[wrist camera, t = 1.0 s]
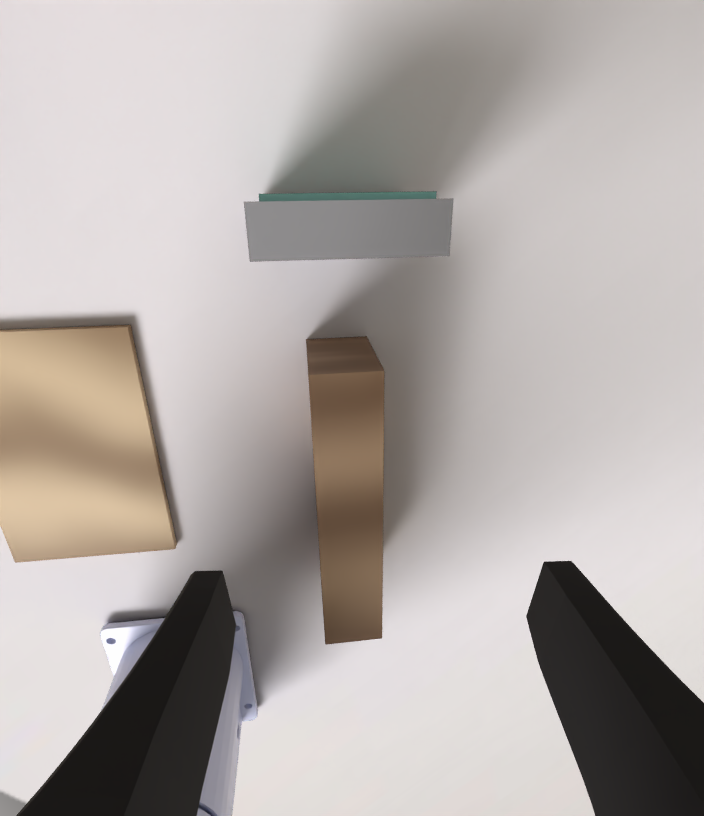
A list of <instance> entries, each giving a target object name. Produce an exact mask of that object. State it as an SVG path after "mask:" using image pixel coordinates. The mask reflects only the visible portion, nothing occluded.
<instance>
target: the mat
mask: <svg viewBox="0 0 704 816" xmlns="http://www.w3.org/2000/svg"><path fill="white" fill-rule="evenodd" d="M0 526H1V528H2V531H3V533H4V536H5V538H6V541H7V543H8V546H9V548H10V551H11V553H12V556H13V558H14V561H15V563H16V562H28V561H40V560H51V559H63V558H75V557H87V556H99V555H111V554H122V553H134V552H146V551H158V550H170V549H175V548H176V545H177V542H176V538H175V533H174V528H173V524H172V519H171V514H170V509H169V505H168V500H167V495H166V490H165V486H164V481H163V476H162V472H161V467H160V462H159V457H158V453H157V448H156V443H155V438H154V434H153V429H152V424H151V420H150V415H149V410H148V405H147V401H146V396H145V391H144V387H143V382H142V377H141V372H140V368H139V363H138V358H137V353H136V349H135V344H134V339H133V335H132V330H131V325H113V326H88V327H62V328H37V329H12V330H0Z"/></svg>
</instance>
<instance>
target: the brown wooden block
mask: <svg viewBox="0 0 704 816" xmlns="http://www.w3.org/2000/svg"><path fill="white" fill-rule="evenodd" d="M306 345H307V361H308V377H309V393H310V409H311V425H312V441H313V457H314V474H315V490H316V506H317V522H318V538H319V554H320V570H321V585H322V600H323V615H324V630H325V644H334V643H343V642H352V641H361V640H370V639H380V638H382V583H383V469H384V369H383V367H382V365H381V363H380V361H379V359H378V358H377V356H376V354H375V352H374V350H373V348H372V346H371V344H370V342H369V340H368V338H367V336H364V337H344V338H324V339H306Z"/></svg>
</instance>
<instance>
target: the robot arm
mask: <svg viewBox="0 0 704 816" xmlns="http://www.w3.org/2000/svg"><path fill="white" fill-rule="evenodd" d="M526 617H527V621H528V625H529V629H530V633H531V637H532V640H533V644H534V648H535V651H536V655H537V659H538V662H539V665H540V668H541V671H542V673H543V676H544V679H545V681H546V684H547V687H548V689H549V692H550V695H551V697H552V700H553V702H554V705H555V708H556V710H557V713H558V715H559V718H560V720H561V723H562V726H563V728H564V731H565V733H566V736H567V739H568V741H569V744H570V746H571V749H572V751H573V754H574V757H575V759H576V762H577V764H578V767H579V770H580V772H581V775H582V777H583V780H584V783H585V786H586V789H587V792H588V794H589V797H590V800H591V803H592V806H593V809H594V813H595V816H704V703H703V702H702V701H701V700H700V699H699V698H698V697H697V696H696V695H695V694H694V693H693V692H692V691H691V690H690V689H689V688H688V687H687V686H686V685H685V684H684V683H683V682H682V681H681V680H680V679H679V678H678V677H677V676H676V675H675V674H674V673H673V672H672V671H671V670H670V669H669V668H668V667H667V666H666V665H665V664H664V662H663V661H662V660H661V659H660V658H659V657H658V656H657V655H656V654H655V653H654V652H653V651H652V650H651V649H650V648H649V647H648V646H647V645H646V643H645V642H644V641H643V640H642V639H641V638H640V637H639V636H638V635H637V634H636V633H635V632H634V631H633V630H632V628H631V627H630V626H629V625H628V624H627V623H626V622H625V621H624V620H623V619H622V617H621V616H620V615H619V614H618V613H617V612H616V611H615V610H614V609H613V607H612V606H611V605H610V604H609V603H608V602H607V601H606V600H605V598H604V597H603V596H602V595H601V594H600V593H599V592H598V591H597V589H596V588H595V587H594V586H593V585H592V584H591V583H590V581H589V580H588V579H587V578H586V577H585V576H584V575H583V573H582V572H581V571H580V570H579V569H578V568H577V567H576V566H575V564H574V563H573V562H571V561H555V562H544V563H543V567H542V570H541V573H540V576H539V579H538V582H537V585H536V588H535V591H534V594H533V597H532V600H531V603H530V606H529V610H528V613H527V616H526ZM236 625H238V626H236ZM100 636H101V639H102V642H103V645H104V648H105V651H106V655H107V658H108V661H109V664H110V667H111V670H112V673H113V676H114V678H113V681H112V683H111V686H110V689H109V691H108V694H107V697H106V699H105V702H104V704H103V707H102V710H101V712H100V714H99V715H98V716H97V718H96V719H95V720H94V722H93V723H92V724H91V726H90V727H89V728H88V730H87V731H86V732H85V733H84V735H83V736H82V737H81V739H80V740H79V741H78V742H77V744H76V745H75V746H74V747H73V749H72V750H71V751H70V752H69V754H68V755H67V756H66V758H65V759H64V760H63V761H62V762H61V764H60V765H59V766H58V767H57V768H56V770H55V771H54V772H53V773H52V775H51V776H50V777H49V778H48V779H47V781H46V782H45V783H44V784H43V785H42V787H41V788H40V789H39V790H38V791H37V792H36V794H35V795H34V796H33V797H32V798H31V799H30V801H29V802H28V803H27V804H26V805H25V806H24V808H23V809H22V810H21V811H20V812H19V813H18V814H17V816H232V813H233V803H234V793H235V783H236V773H237V764H238V754H239V744H240V734H241V725H242V721H251V720H254V719H255V718H256V717H257V715H258V707H257V700H256V694H255V687H254V680H253V674H252V667H251V660H250V654H249V647H248V640H247V633H246V627H245V620H244V615H243V614H242V613H241V612H238V611H233V610H232V606H231V602H230V598H229V594H228V590H227V586H226V582H225V578H224V574H223V571H195V572H194V573H193V574H191V576H190V578H189V579H188V581H187V583H186V584H185V586H184V588H183V590H182V591H181V593H180V595H179V596H178V598H177V600H176V601H175V603H174V605H173V606H172V608H171V610H170V611H169V613H168V614H167V616H166V618H159V619H149V620H138V621H128V622H118V623H109V624H105V625H104V626H103V627H102V629H101V631H100Z"/></svg>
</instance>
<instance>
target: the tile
mask: <svg viewBox="0 0 704 816" xmlns="http://www.w3.org/2000/svg"><path fill="white" fill-rule="evenodd" d="M436 192H437V191H433V192H361V193H290V194H259V202H244V208H245V218H246V228H247V238H248V248H249V258H250V262H253V261H289V260H325V259H362V258H398V257H434V256H449V255H450V240H451V225H452V210H453V199H436Z"/></svg>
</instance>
